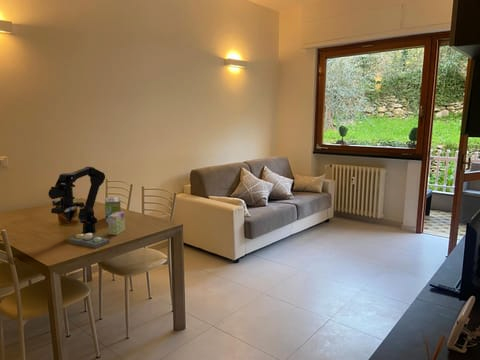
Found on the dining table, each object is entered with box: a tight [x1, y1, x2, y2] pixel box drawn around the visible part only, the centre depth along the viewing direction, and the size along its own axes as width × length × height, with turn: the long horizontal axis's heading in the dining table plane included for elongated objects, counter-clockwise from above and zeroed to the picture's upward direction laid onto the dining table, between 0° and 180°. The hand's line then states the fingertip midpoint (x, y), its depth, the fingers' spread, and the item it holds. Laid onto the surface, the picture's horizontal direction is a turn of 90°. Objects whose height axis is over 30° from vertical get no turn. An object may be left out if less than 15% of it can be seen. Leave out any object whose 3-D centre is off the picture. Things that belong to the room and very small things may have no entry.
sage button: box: [93, 236, 102, 243], centre depth 201 cm, size 4×4×3 cm
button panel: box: [67, 235, 111, 249], centre depth 205 cm, size 10×22×2 cm, turn 64°
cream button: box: [83, 233, 93, 240], centre depth 204 cm, size 4×4×3 cm
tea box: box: [104, 196, 122, 224], centre depth 249 cm, size 15×10×15 cm
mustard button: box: [75, 233, 85, 239], centre depth 207 cm, size 4×4×3 cm
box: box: [107, 211, 126, 236], centre depth 222 cm, size 10×6×12 cm, turn 171°
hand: (69, 222), depth 207 cm, fingers closed
